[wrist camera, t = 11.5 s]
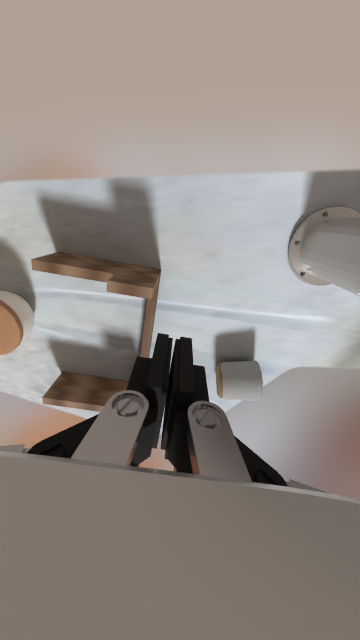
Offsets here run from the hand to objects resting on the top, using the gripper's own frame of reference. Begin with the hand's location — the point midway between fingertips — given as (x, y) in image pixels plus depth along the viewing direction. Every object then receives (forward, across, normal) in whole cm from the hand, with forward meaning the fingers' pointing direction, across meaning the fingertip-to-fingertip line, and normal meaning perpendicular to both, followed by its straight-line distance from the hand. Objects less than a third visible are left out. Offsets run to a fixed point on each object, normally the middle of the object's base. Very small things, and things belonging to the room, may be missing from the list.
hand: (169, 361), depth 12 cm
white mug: (+32, -16, +22) cm, 42 cm away
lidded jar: (+32, +29, +15) cm, 46 cm away
